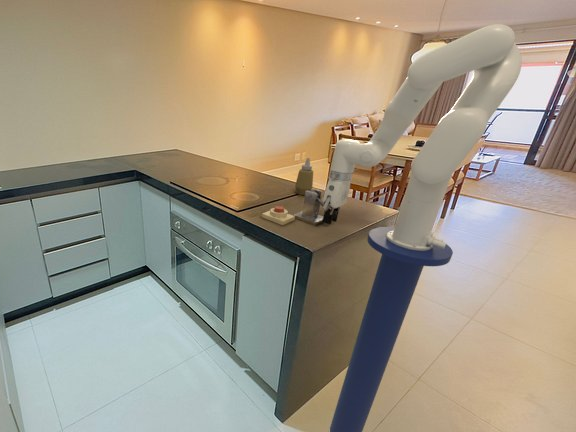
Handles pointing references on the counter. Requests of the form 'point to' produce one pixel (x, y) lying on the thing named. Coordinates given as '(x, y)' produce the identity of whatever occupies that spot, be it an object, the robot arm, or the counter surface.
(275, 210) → the button
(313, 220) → the bracket
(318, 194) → the lever
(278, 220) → the control block
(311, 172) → the squeeze bottle
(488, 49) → the robot arm
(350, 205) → the counter surface
